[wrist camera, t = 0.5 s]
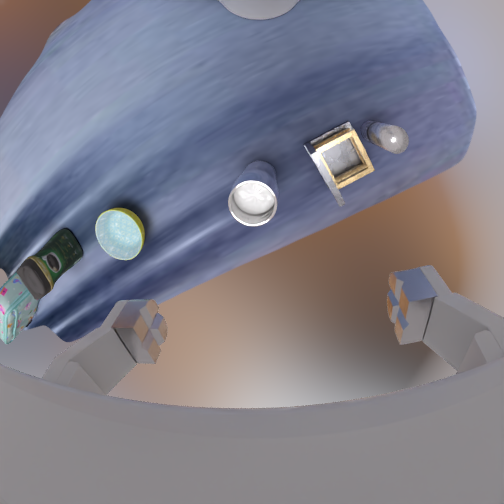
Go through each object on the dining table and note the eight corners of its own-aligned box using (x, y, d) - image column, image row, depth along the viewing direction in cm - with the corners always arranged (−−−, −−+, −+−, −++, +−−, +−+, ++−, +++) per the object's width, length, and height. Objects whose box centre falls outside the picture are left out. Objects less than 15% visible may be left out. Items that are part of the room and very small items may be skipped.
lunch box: (37, 317, 81) (8, 355, 62) (19, 300, 78) (-11, 336, 60) (46, 279, 70) (7, 322, 51) (25, 259, 67) (-16, 298, 48)
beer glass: (286, 173, 49) (289, 200, 36) (263, 201, 52) (257, 237, 39) (255, 150, 48) (246, 168, 35) (233, 179, 51) (216, 208, 38)
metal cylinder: (361, 119, 43) (384, 124, 32) (382, 122, 42) (409, 128, 32) (359, 140, 45) (382, 151, 34) (380, 143, 44) (407, 155, 34)
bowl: (160, 243, 59) (149, 257, 54) (119, 249, 61) (106, 262, 56) (144, 194, 54) (131, 205, 48) (103, 204, 56) (88, 215, 50)
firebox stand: (347, 121, 43) (365, 126, 34) (369, 164, 47) (390, 180, 37) (303, 144, 46) (310, 155, 37) (327, 186, 50) (339, 207, 40)
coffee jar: (53, 234, 61) (10, 272, 45) (68, 223, 59) (21, 262, 43) (72, 264, 65) (33, 305, 49) (88, 255, 63) (46, 299, 47)
